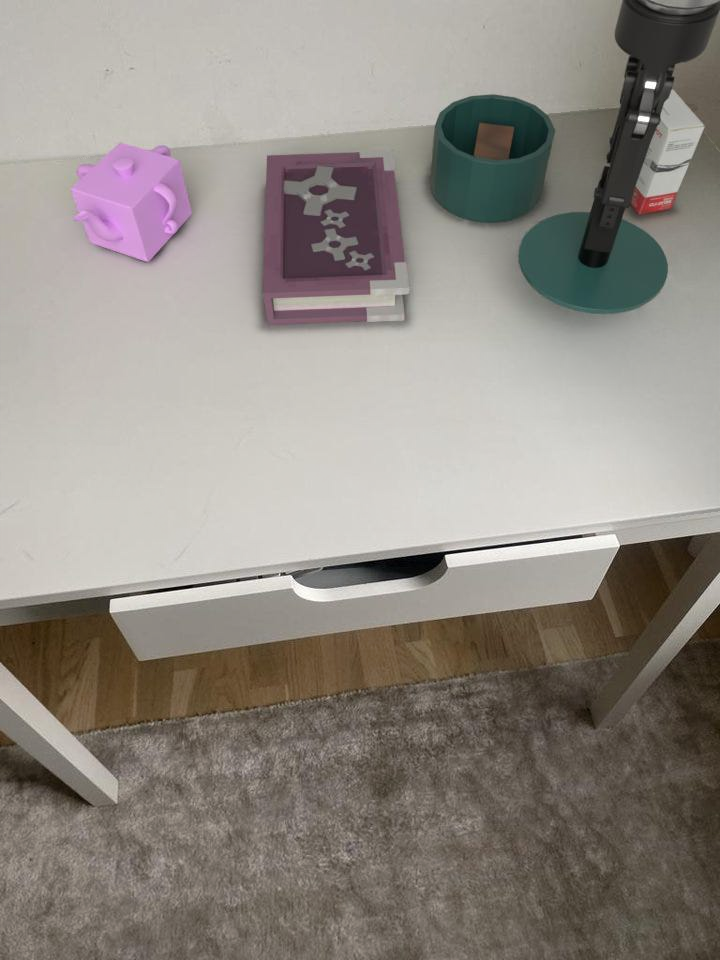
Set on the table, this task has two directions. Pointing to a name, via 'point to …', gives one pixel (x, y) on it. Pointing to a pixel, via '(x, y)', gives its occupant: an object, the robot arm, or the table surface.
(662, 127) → the ink box
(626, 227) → the lid
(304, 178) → the book
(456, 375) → the table surface
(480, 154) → the block
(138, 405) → the table surface
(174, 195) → the teapot
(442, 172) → the tin
